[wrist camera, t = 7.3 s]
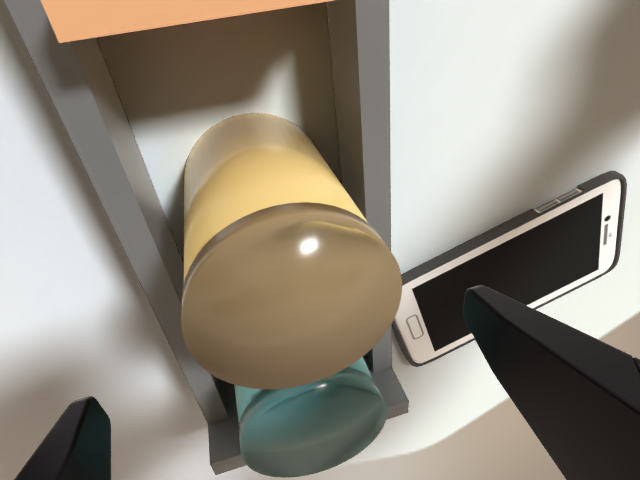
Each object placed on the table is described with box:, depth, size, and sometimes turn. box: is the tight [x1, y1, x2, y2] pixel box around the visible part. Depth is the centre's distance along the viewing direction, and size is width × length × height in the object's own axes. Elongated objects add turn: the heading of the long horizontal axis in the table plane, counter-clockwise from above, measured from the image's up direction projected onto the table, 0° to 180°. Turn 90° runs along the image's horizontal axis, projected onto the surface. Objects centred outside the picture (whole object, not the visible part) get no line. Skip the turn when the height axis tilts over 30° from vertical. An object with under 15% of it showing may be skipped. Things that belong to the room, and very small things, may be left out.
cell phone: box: [391, 171, 627, 367], centre depth 24 cm, size 8×15×1 cm, turn 112°
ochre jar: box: [181, 113, 402, 389], centre depth 14 cm, size 6×6×8 cm
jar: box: [234, 357, 387, 477], centre depth 18 cm, size 6×6×7 cm
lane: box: [4, 0, 409, 475], centre depth 15 cm, size 10×21×5 cm, turn 6°
